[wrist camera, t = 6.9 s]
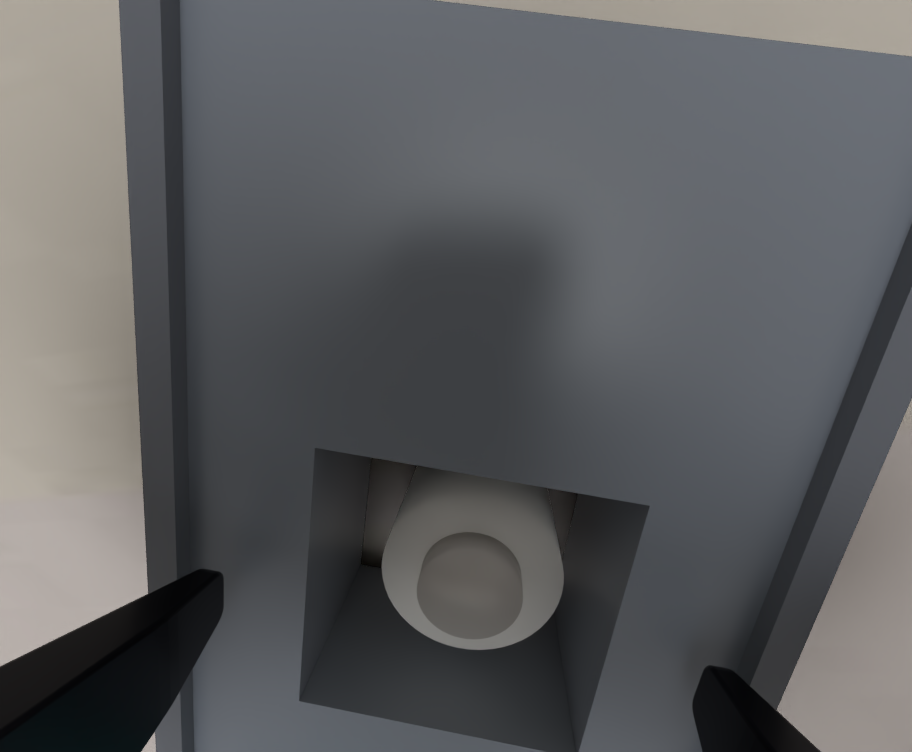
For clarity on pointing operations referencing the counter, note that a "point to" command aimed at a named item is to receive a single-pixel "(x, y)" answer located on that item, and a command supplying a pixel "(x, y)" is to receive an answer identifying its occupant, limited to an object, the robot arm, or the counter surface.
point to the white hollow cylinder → (473, 559)
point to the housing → (506, 349)
